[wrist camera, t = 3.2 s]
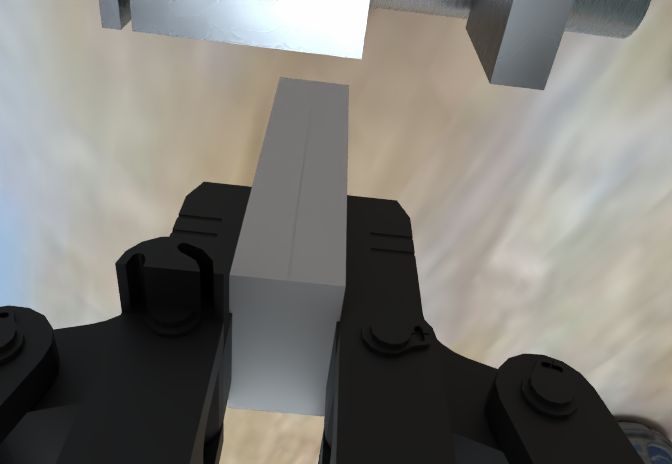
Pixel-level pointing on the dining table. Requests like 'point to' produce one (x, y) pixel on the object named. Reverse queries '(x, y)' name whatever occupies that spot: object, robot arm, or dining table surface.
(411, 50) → the dining table surface
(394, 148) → the dining table surface
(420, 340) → the robot arm
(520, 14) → the block with metal shaft
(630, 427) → the beverage bottle
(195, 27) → the outer sleeve
